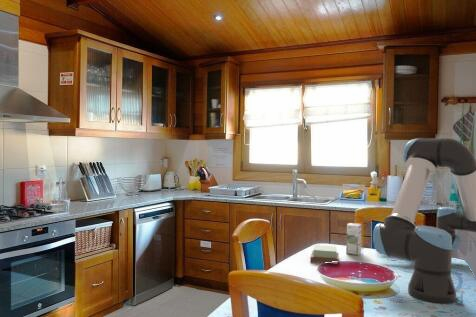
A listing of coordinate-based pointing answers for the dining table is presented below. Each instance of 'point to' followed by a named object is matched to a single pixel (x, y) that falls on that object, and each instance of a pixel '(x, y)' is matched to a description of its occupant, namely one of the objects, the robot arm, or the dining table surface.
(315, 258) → the walnut slab
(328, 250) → the sage slab
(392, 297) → the dining table surface
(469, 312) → the dining table surface
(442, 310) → the dining table surface
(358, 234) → the syrup box
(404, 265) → the dining table surface
